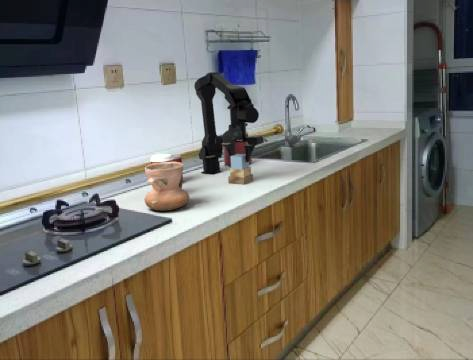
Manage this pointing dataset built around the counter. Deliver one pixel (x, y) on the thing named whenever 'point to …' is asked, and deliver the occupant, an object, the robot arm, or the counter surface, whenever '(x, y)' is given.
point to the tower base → (240, 180)
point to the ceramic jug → (165, 186)
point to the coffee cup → (161, 158)
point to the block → (239, 162)
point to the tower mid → (240, 172)
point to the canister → (238, 150)
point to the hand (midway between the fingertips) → (240, 161)
